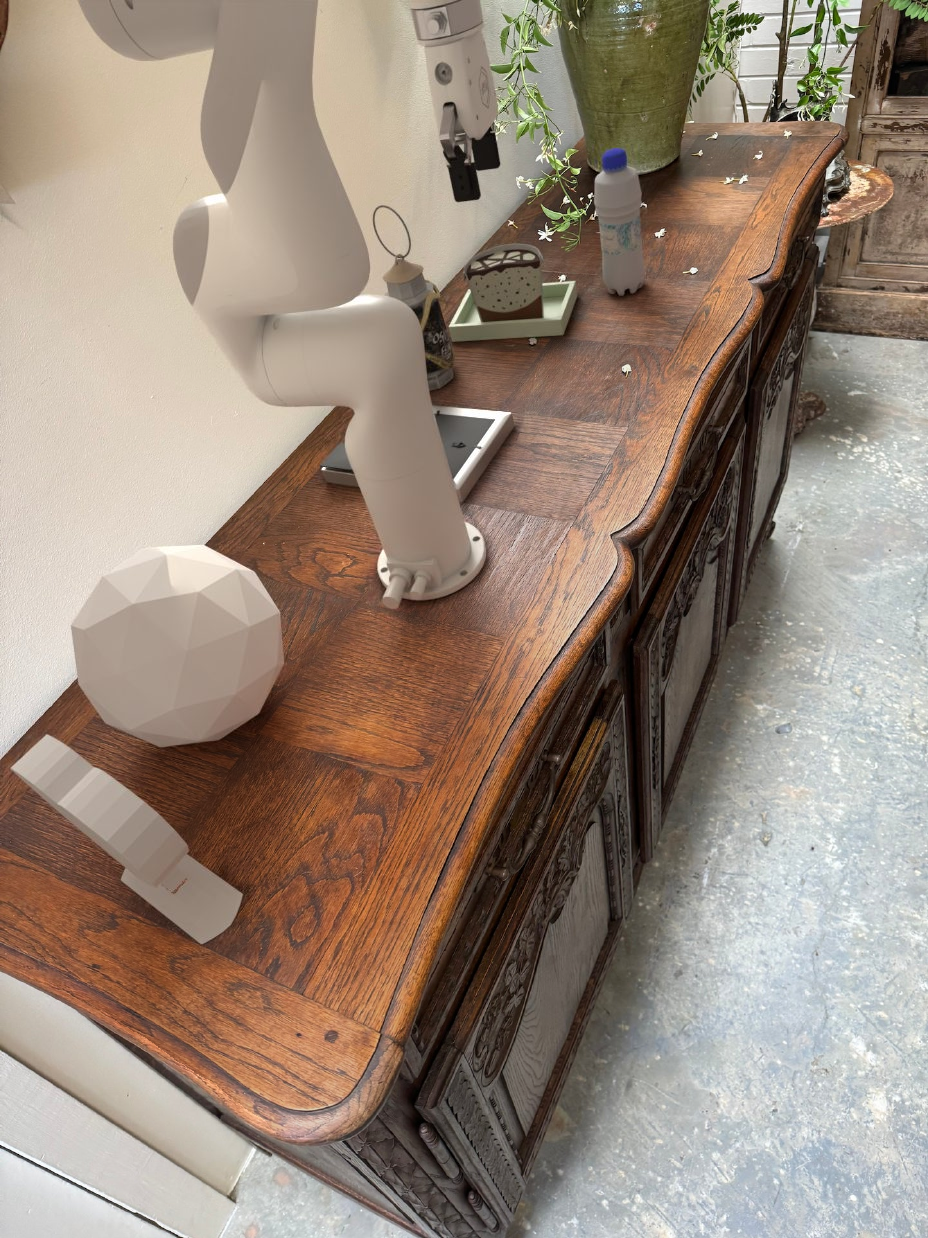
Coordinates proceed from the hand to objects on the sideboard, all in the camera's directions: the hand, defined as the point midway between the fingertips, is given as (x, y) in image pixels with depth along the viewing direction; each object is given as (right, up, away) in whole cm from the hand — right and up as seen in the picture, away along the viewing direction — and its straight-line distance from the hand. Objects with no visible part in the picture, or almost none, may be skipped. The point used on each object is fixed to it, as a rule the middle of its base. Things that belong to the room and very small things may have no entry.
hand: (478, 183), depth 103 cm
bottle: (+23, -3, +26) cm, 35 cm away
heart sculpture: (-27, -77, -29) cm, 87 cm away
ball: (-27, -63, -15) cm, 70 cm away
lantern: (-7, -18, +20) cm, 28 cm away
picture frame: (-8, -32, +8) cm, 34 cm away
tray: (+6, -7, +27) cm, 28 cm away
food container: (+6, -7, +27) cm, 28 cm away
